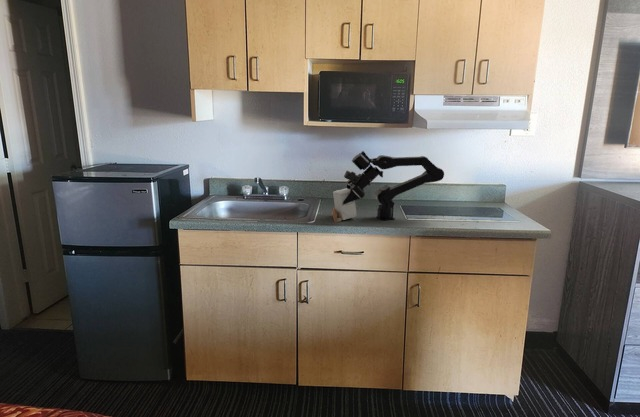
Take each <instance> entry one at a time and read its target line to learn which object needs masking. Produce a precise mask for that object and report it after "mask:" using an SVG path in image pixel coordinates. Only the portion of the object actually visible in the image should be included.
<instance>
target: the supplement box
mask: <svg viewBox="0 0 640 417" xmlns="http://www.w3.org/2000/svg"><path fill="white" fill-rule="evenodd" d="M349 193H350V189H347V188H343V189H337V190H335V191H332V197H333V202H334V203H333V204H334V208H335V210H336V212H337V218H341V221H344V220H348V219H352V218H356V217H358V215H357V214H358V213H357V207H356V200H354V201H351V202H349V203H346V204H344V203H343V201H344V200H345V199H346V197H347V196H348V195H349Z"/></svg>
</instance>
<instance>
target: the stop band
mask: <svg viewBox="0 0 640 417" xmlns="http://www.w3.org/2000/svg"><path fill="white" fill-rule="evenodd" d="M332 217H333V220H334V222H335V223H337V222H338V223H339V222H342V220H341V218H337V212H336V210H335V207H332Z"/></svg>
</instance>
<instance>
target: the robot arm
mask: <svg viewBox="0 0 640 417" xmlns="http://www.w3.org/2000/svg"><path fill="white" fill-rule="evenodd" d="M351 162H352V163H353V164H354V165H355V166H356V168H357V169H359V170H360V171H363V172H362V173H358V174H356V172H354V171H350V170H346V172H345V174H343V177H344V178H345V179H346V180H347V181H346V188H347V189H350V193H349V195H348V196H347V197H346V199H345V200H344V201H343V203H344V204H346V203H349V202H351V201H354V200H355V201H357V200H360V199H363V198H365V193H366V192H364V189H366V187H368V186H370V185H371V183H372V182H373V181H374V180H375V179H376V178H377V177H378V176H379V177H380V178H384V175H383V174H384V171H383V170H389V169H392V168H396V167H411V166H412V167H413V166H415V167H416V166H422V168H423V169H424V170H425V171H424V172H423V173H421V174H419V175H418V176H415V177H413V178H411V179H408V180H406V181H404V182H401V183H398V184H396V185H394V186H389V185H388V184H386V185H384V186H382V187H378V189H377V190H376V192H375V193H374V194H375V195H374V196H375V199H376V200H377V202H379V205H378V208H377V213H376V214H377V215H376V216H375V217H376V218H377V219H379V220H382V221H390V220H391V221H392V220H395V219H396V218H395V217H394V208H395V203H396V202H394V201H393V199H394V198H395V197H397V196H399V195H401V194H404V193H405V192H408V191H410V190H413V189H415V188H417V187H419V186H420V187H421V186H422V185H424V184H428V183H429V184H430V183H435V182H436V183H437V182H440V181H442V180H443V179H444V177H445V172H444V170H443V169H442V168H440V167H438V166H436V165H435V164H434V163H433V162H432V161H431V160H429V157H427V156H424V155H420V156H404V157H401V156H400V157H396V156H395V157H394V156H389V155H383V154H382V155H381V154H380V155H378V156H377V157H374V158H370V157H368V154H366V152H365V151H364V150H362V151H361V152H359V153H358V154H356V155H355V156H354V157H353V158H352V160H351ZM374 166H375V167H374ZM346 188H345V189H346Z"/></svg>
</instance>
